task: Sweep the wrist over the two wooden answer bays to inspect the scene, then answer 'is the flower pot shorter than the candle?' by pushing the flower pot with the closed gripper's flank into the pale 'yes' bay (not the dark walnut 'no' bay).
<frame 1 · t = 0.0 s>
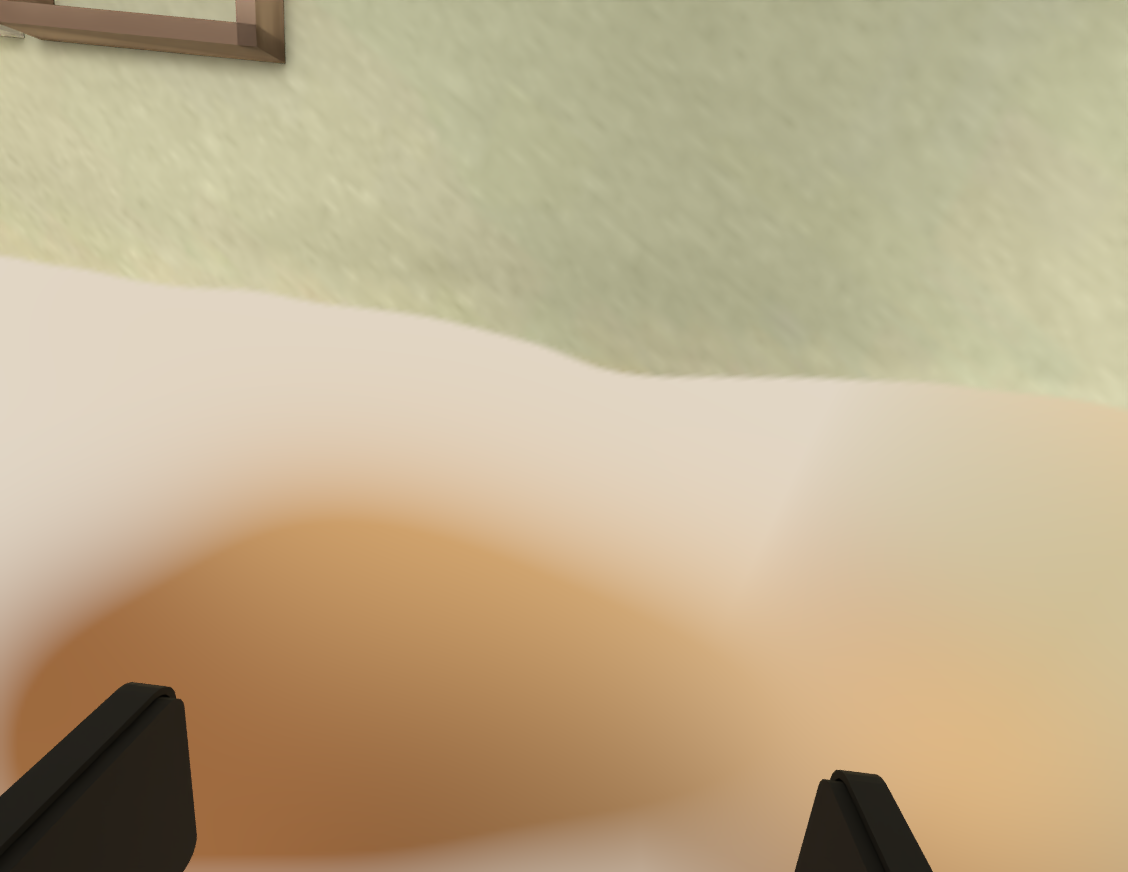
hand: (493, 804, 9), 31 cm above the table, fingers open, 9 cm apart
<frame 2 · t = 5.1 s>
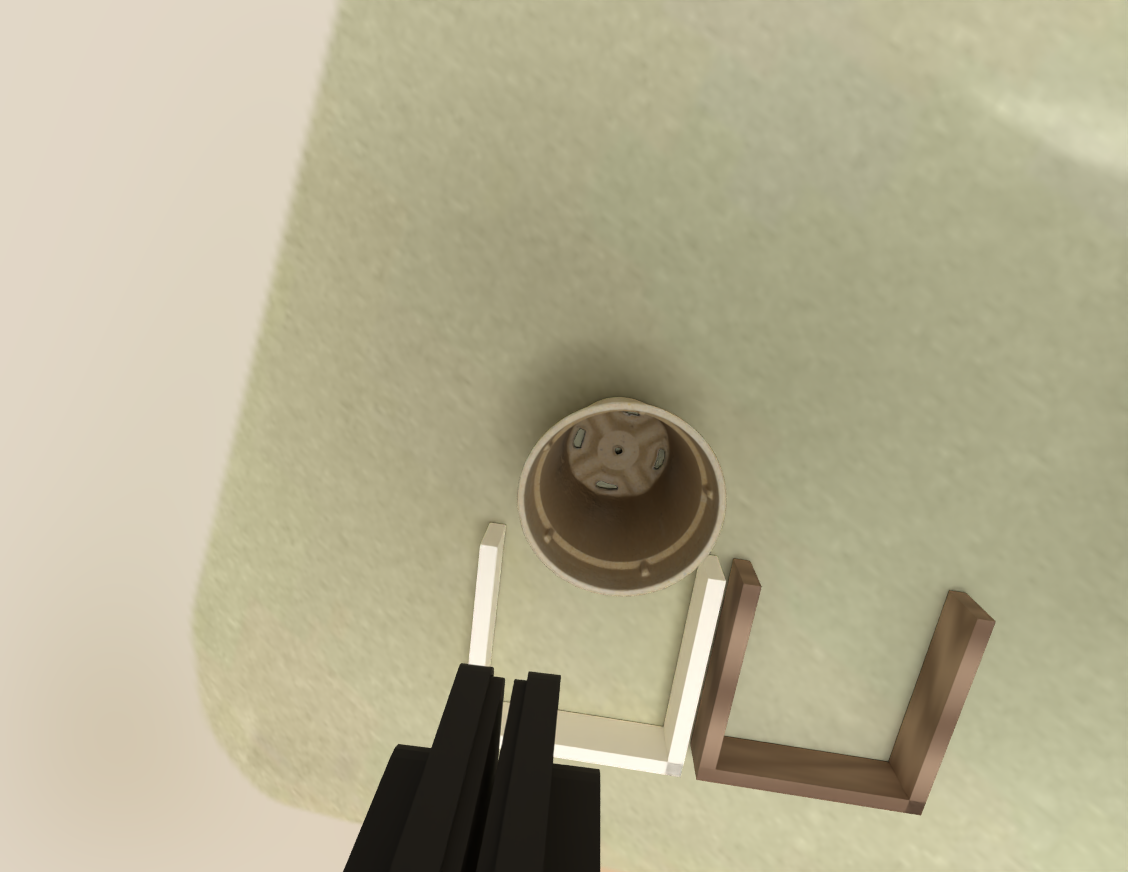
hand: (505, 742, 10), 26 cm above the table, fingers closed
flower pot: (617, 445, 36), on the table
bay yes: (587, 636, 40), on the table
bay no: (820, 672, 40), on the table
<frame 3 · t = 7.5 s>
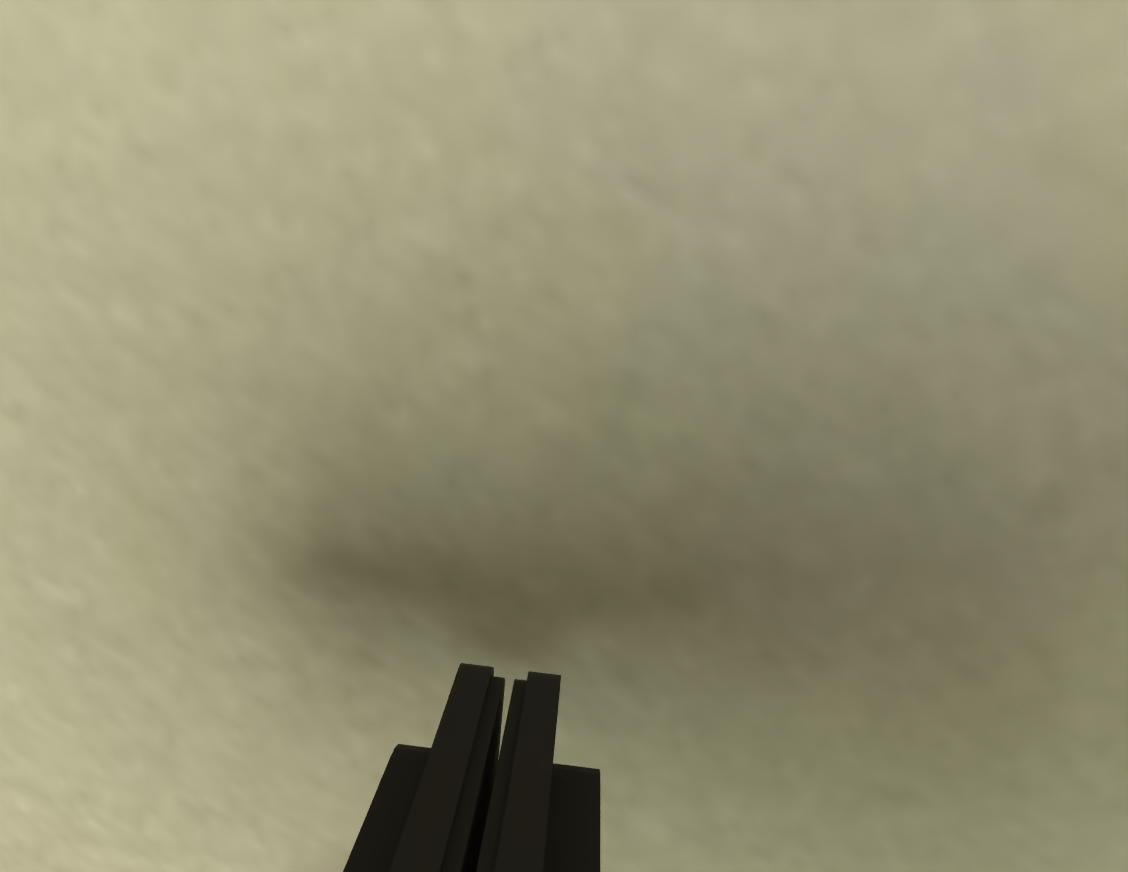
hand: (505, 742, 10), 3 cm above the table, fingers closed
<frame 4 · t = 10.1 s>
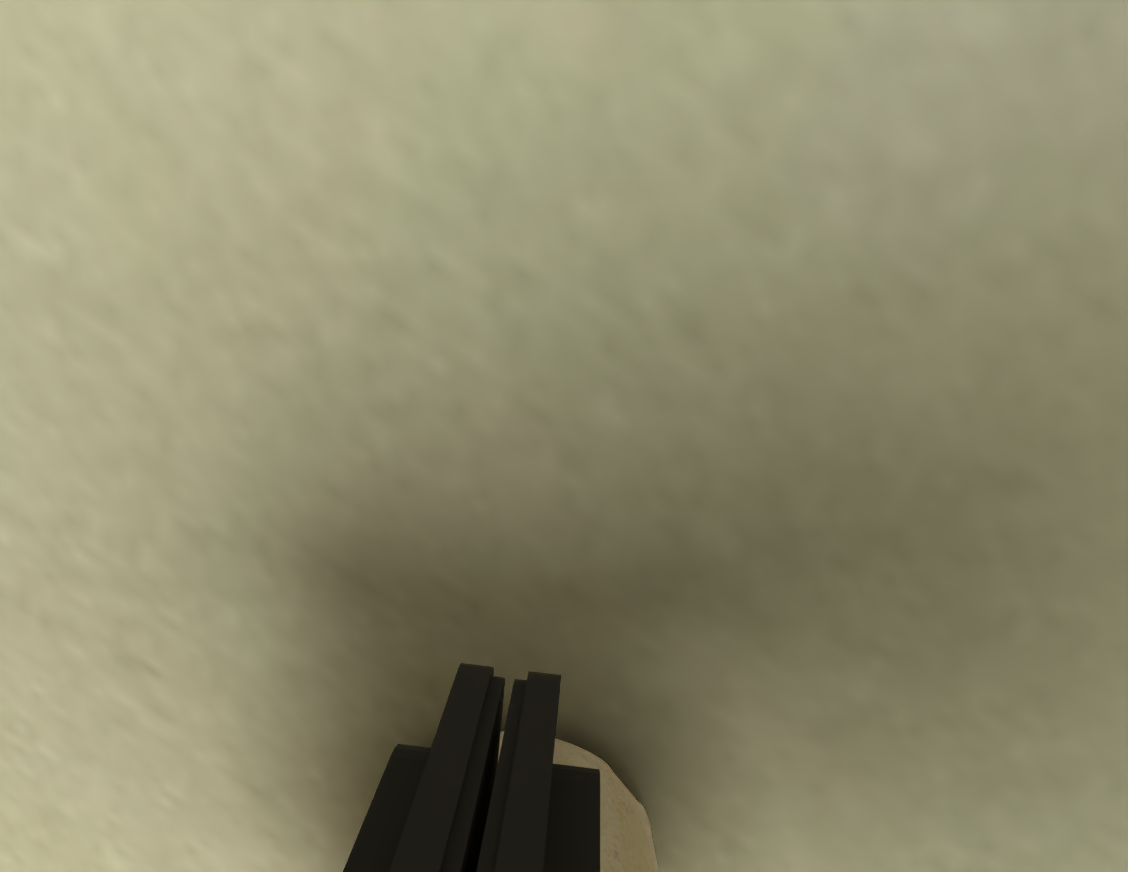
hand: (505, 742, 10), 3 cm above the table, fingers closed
flower pot: (519, 814, 15), on the table, touching gripper
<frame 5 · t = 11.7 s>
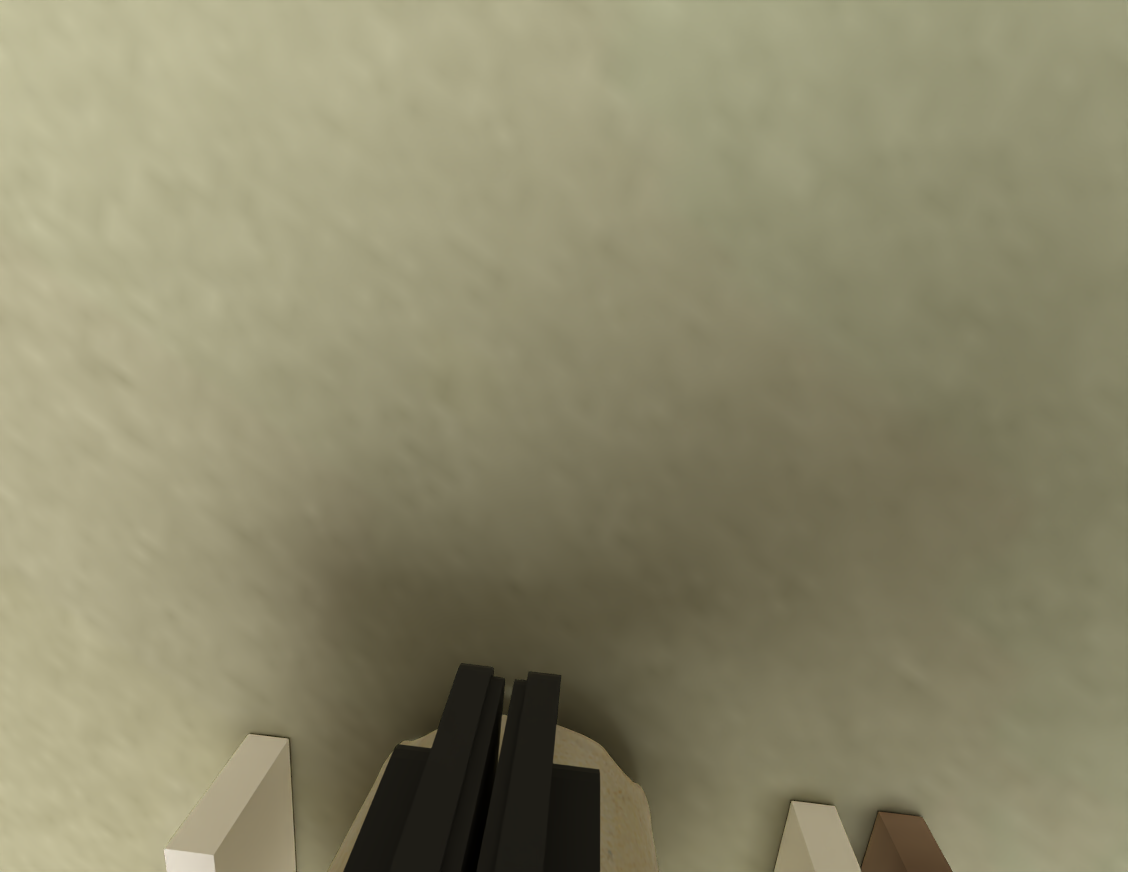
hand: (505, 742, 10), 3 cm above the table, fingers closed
flower pot: (513, 788, 14), on the table, touching gripper
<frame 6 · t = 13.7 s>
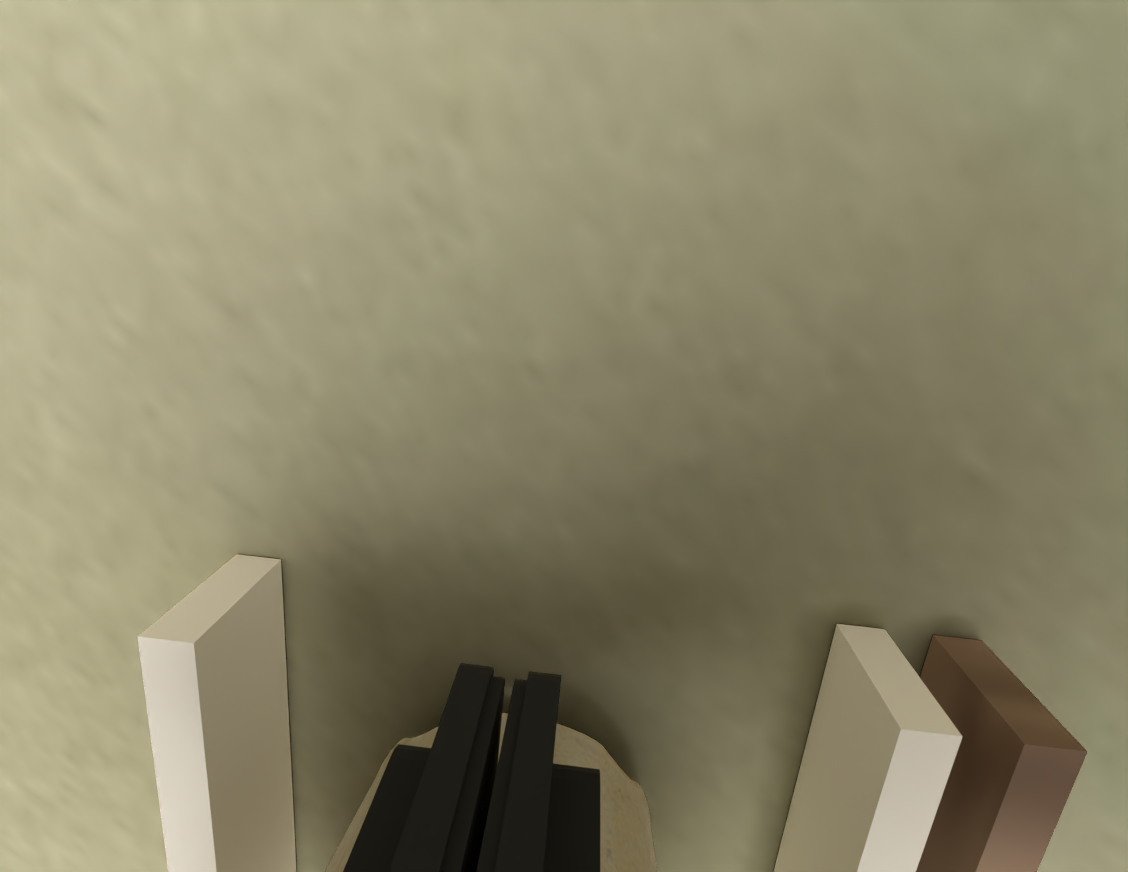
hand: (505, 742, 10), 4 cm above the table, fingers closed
flower pot: (512, 786, 15), on the table, touching gripper
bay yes: (530, 838, 15), on the table
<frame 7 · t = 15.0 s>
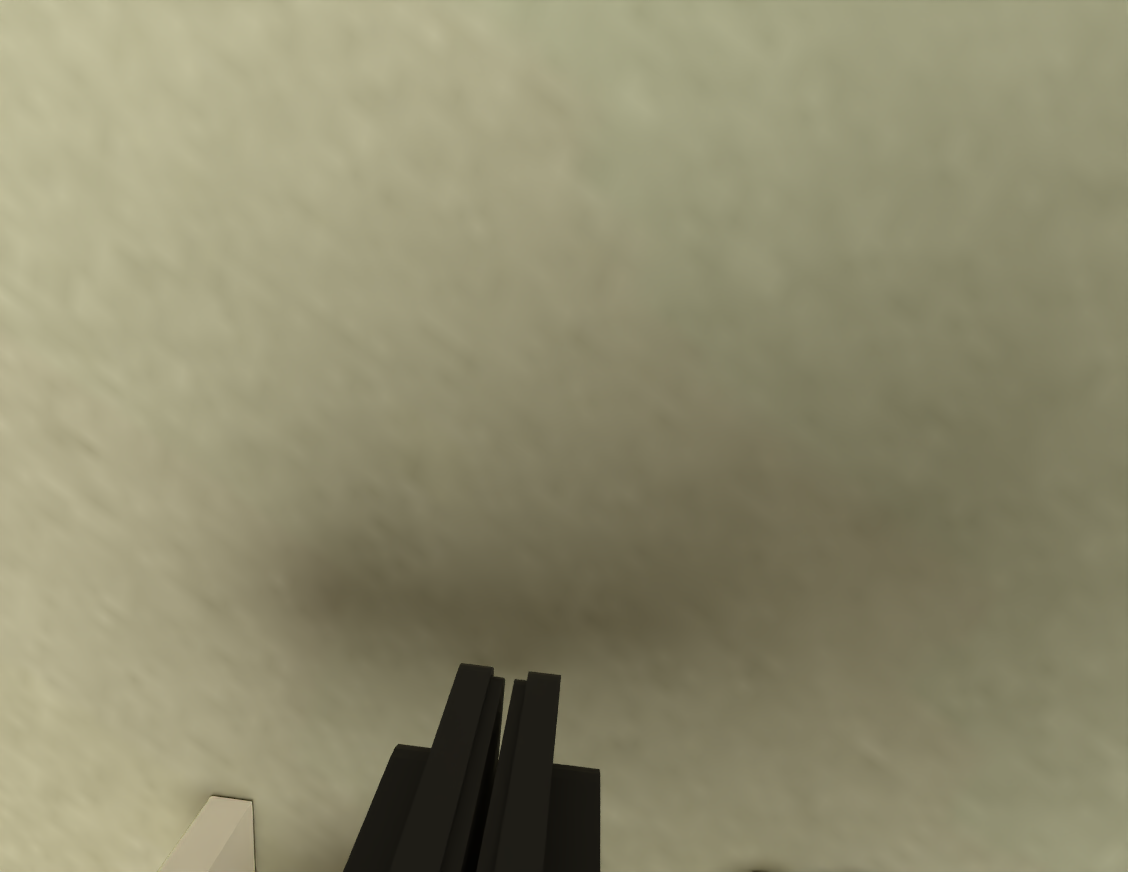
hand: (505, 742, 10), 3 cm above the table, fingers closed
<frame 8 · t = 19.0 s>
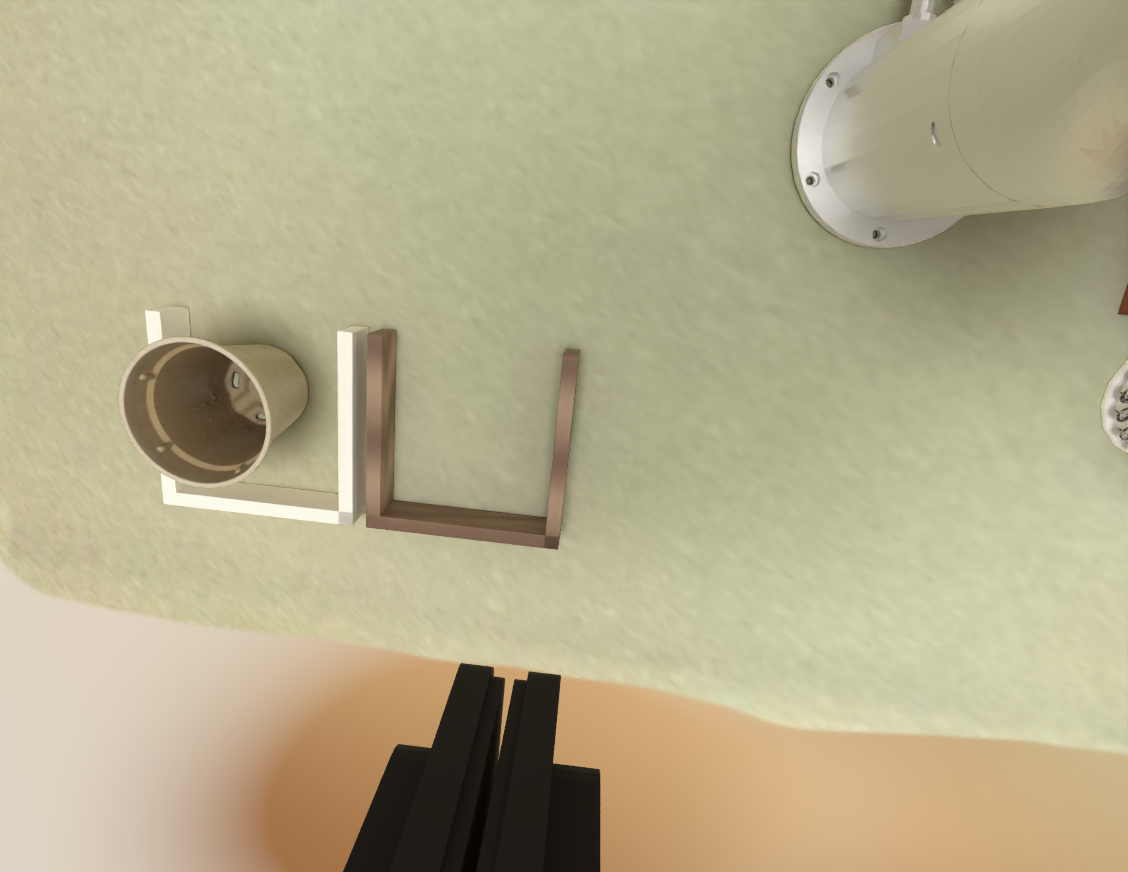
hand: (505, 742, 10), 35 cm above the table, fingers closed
flower pot: (269, 384, 46), on the table
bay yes: (274, 411, 46), on the table
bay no: (475, 434, 46), on the table
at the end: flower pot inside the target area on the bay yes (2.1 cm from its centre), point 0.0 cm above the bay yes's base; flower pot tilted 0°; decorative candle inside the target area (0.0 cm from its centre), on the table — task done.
